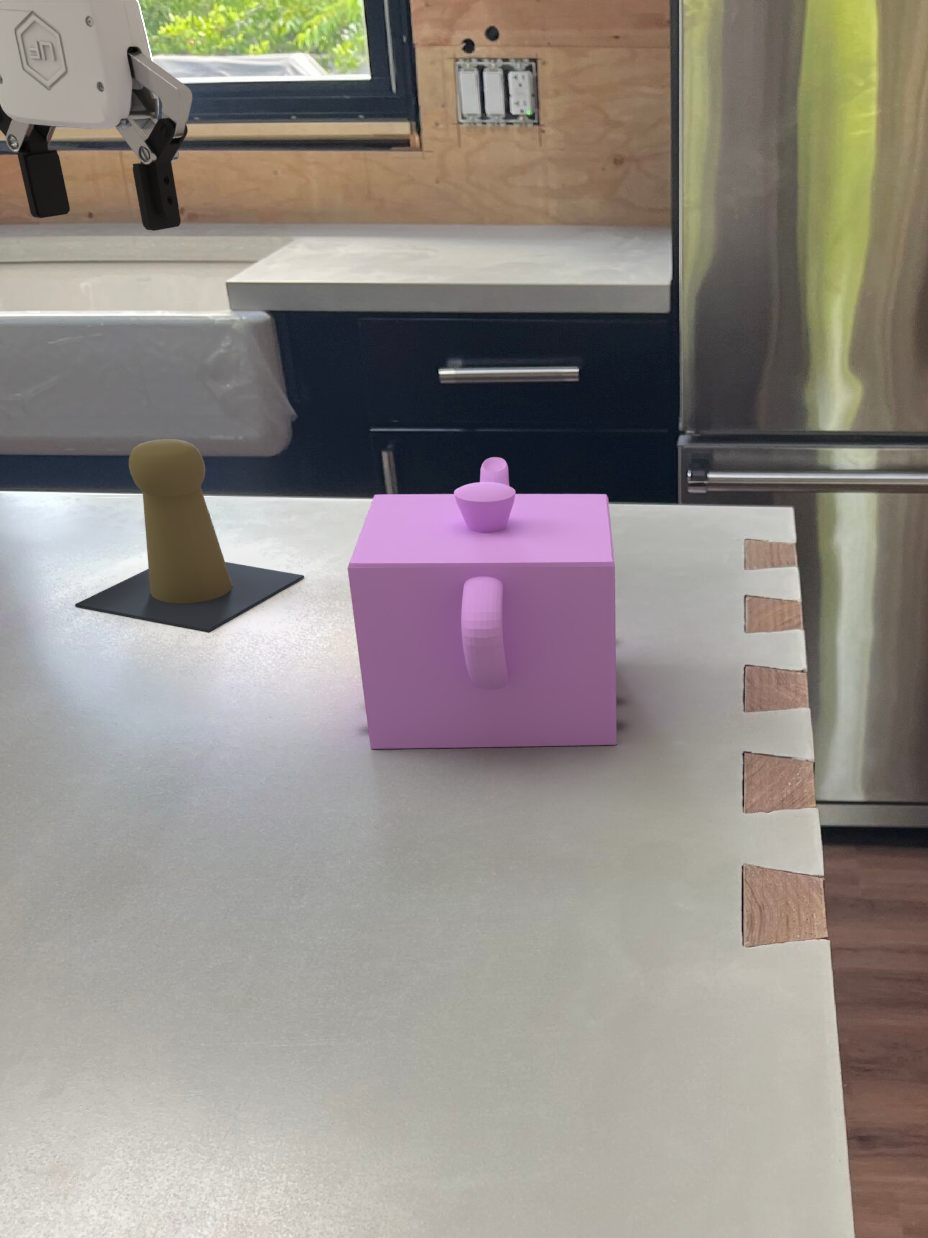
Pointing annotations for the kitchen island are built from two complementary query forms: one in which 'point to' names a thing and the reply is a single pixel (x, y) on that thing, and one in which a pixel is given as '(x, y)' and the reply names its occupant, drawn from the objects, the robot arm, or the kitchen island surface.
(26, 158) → the robot arm
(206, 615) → the mat
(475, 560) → the teapot
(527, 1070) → the kitchen island surface
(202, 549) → the cork
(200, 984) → the kitchen island surface
